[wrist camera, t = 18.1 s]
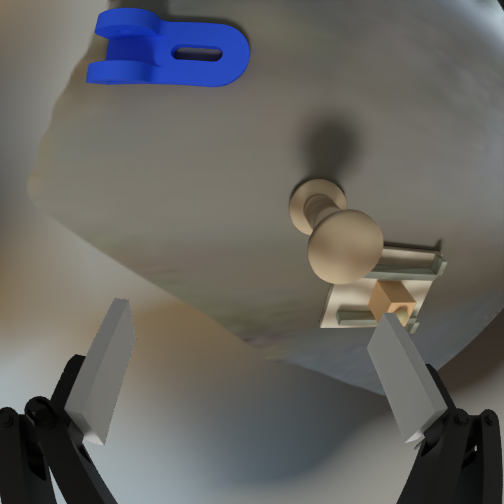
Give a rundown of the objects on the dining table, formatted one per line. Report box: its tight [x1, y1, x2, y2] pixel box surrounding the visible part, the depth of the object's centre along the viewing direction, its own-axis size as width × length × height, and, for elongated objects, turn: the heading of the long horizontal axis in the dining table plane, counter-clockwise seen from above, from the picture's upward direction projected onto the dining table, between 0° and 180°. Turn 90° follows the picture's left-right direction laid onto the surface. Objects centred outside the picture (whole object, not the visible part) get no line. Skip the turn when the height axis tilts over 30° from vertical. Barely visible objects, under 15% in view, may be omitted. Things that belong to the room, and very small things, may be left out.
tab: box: [368, 281, 417, 327], centre depth 43 cm, size 5×5×7 cm
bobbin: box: [289, 179, 383, 284], centre depth 34 cm, size 8×8×13 cm
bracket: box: [86, 8, 250, 87], centre depth 25 cm, size 18×8×9 cm, turn 81°
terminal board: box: [319, 246, 447, 334], centre depth 45 cm, size 16×20×4 cm
